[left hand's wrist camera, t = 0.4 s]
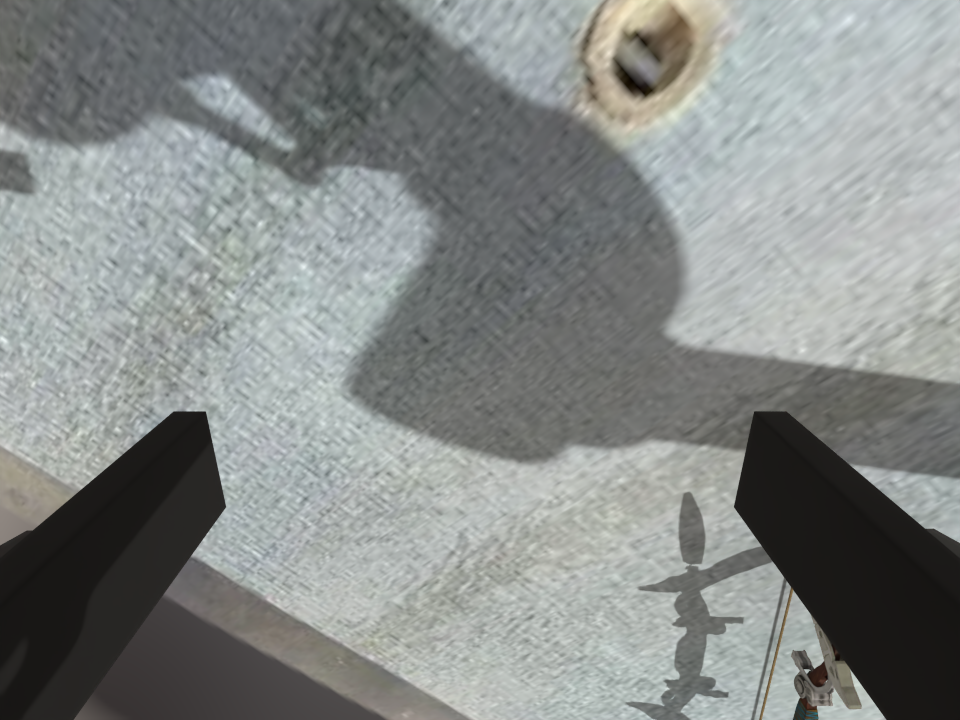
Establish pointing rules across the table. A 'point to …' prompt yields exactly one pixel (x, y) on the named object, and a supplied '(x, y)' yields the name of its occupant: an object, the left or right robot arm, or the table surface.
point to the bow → (818, 678)
